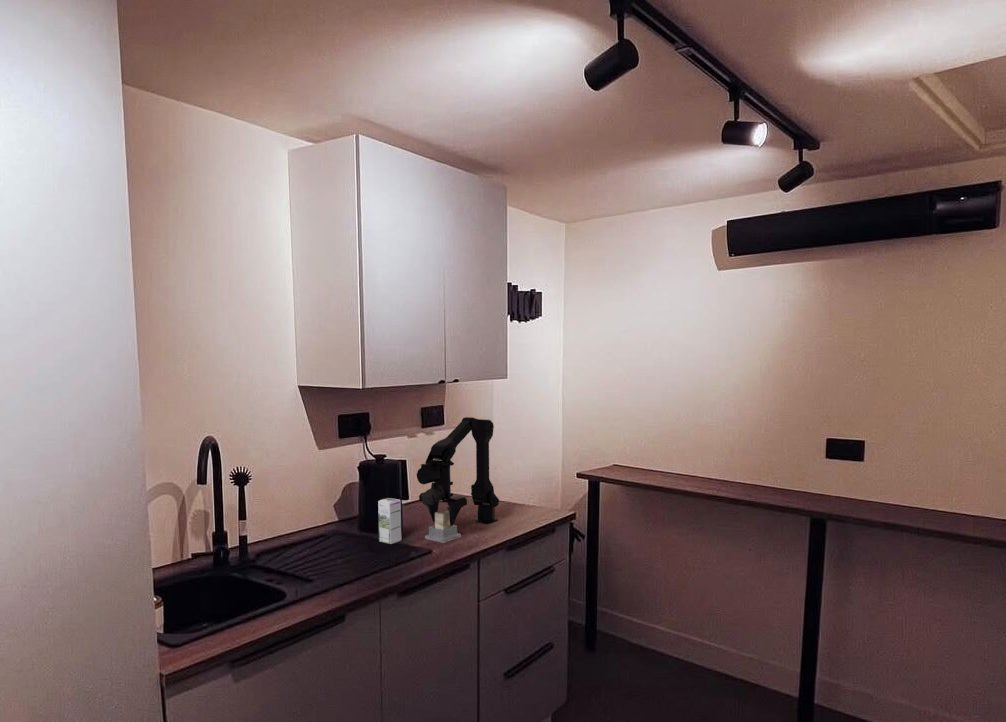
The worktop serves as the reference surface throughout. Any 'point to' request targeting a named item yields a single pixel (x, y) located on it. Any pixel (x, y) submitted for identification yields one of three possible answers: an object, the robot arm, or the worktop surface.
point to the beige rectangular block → (442, 519)
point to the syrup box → (389, 520)
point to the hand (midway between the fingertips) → (443, 523)
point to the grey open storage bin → (443, 534)
